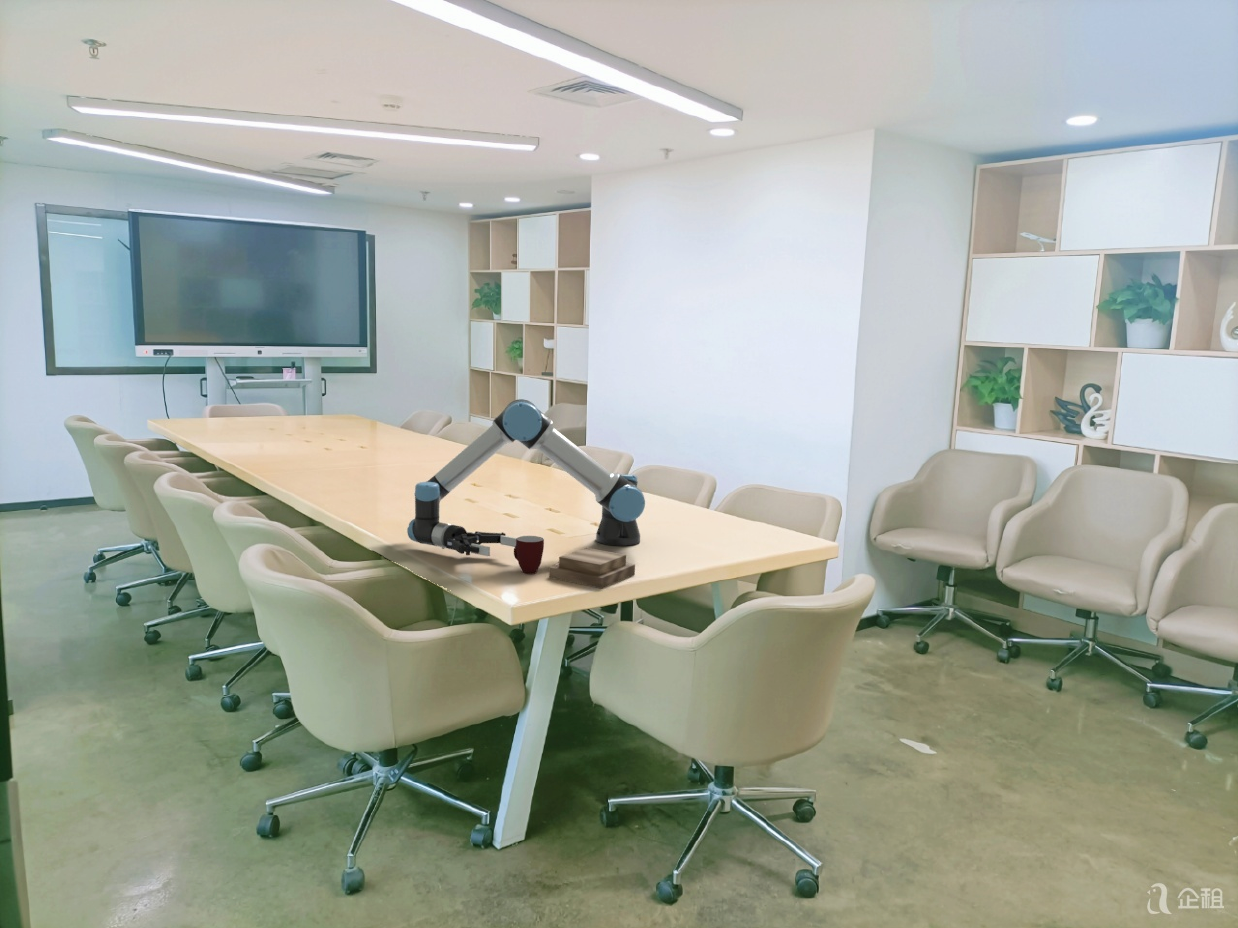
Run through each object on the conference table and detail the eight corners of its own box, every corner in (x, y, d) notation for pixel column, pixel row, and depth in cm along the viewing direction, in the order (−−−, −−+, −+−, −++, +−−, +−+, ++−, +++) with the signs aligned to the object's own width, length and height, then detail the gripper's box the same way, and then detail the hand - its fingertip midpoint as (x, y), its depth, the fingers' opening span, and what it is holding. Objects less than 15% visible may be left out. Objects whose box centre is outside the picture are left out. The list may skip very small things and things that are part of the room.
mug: (503, 571, 253) (503, 537, 252) (521, 565, 260) (522, 533, 259) (531, 577, 248) (531, 543, 246) (548, 571, 254) (549, 538, 253)
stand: (583, 564, 264) (584, 545, 263) (634, 574, 254) (635, 554, 254) (549, 577, 248) (549, 557, 248) (601, 588, 239) (602, 567, 238)
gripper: (476, 541, 279) (529, 551, 268) (421, 556, 258) (475, 568, 247) (476, 518, 278) (529, 527, 267) (421, 531, 257) (476, 542, 246)
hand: (503, 547), depth 257 cm, fingers open, 13 cm apart
